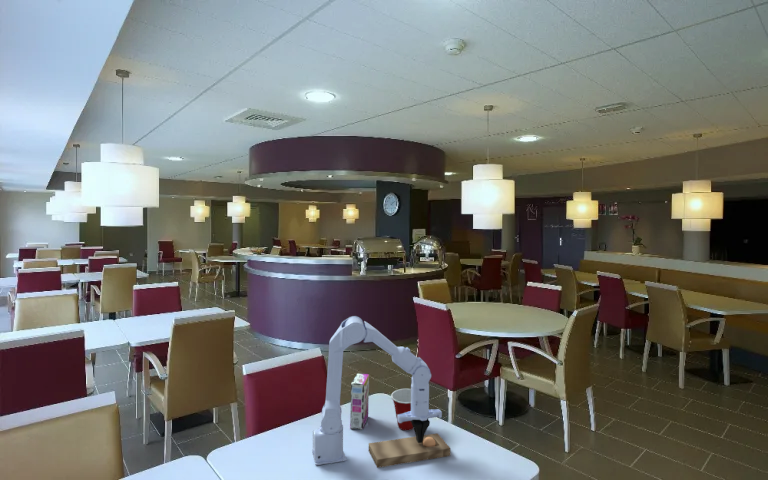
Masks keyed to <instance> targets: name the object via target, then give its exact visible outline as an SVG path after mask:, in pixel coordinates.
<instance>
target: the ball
mask: <svg viewBox="0 0 768 480" xmlns="http://www.w3.org/2000/svg"><path fill="white" fill-rule="evenodd" d="M423 445H424V447H425V448H426V447H432V446H435V445H436V443H435V440H434V439H433V438H432V437H426V438H425V439H424V441H423Z"/></svg>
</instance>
